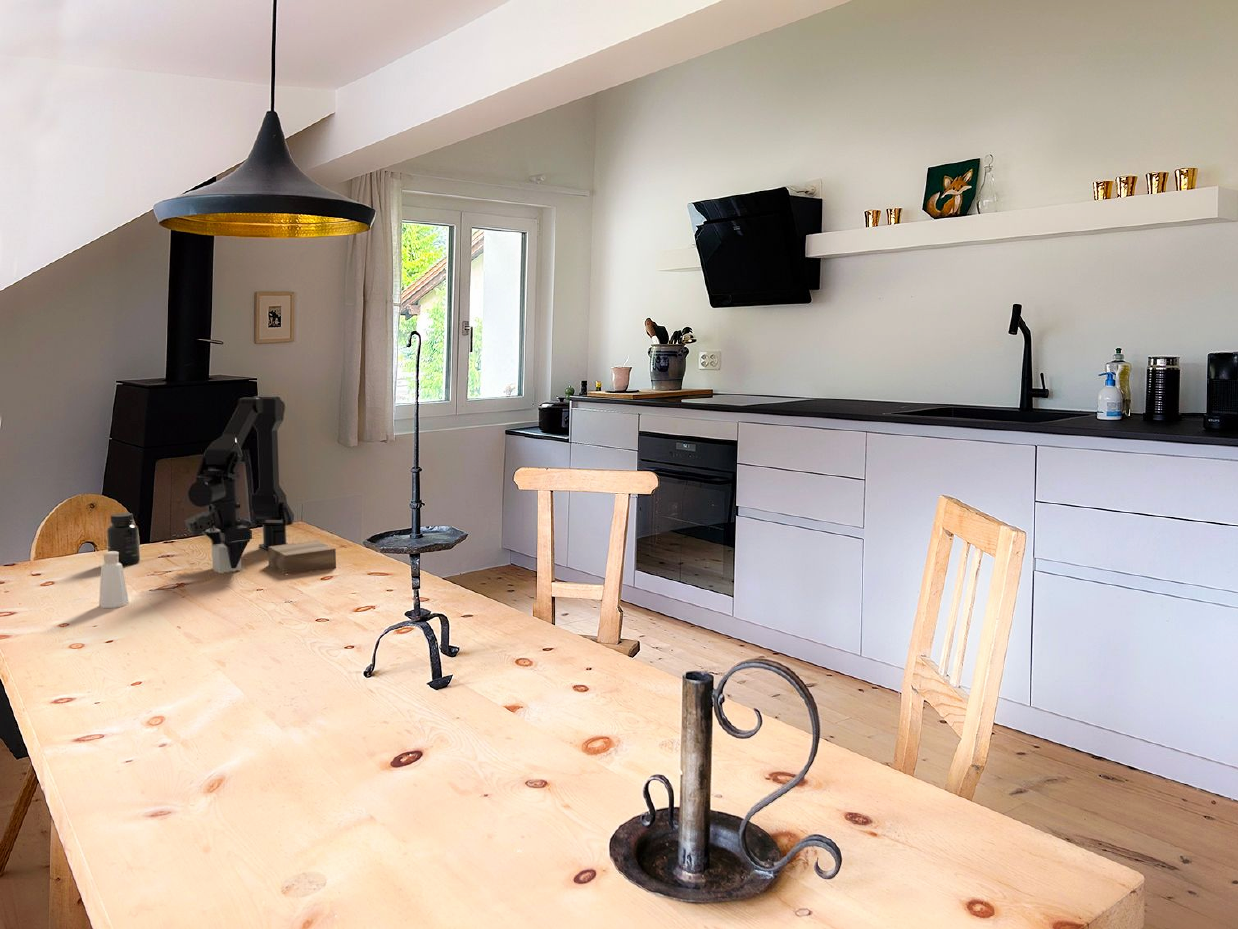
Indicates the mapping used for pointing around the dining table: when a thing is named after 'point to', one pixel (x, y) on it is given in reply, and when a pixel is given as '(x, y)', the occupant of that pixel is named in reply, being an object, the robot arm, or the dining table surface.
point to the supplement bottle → (124, 538)
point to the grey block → (222, 559)
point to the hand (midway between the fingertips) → (226, 564)
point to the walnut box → (302, 557)
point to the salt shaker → (112, 582)
